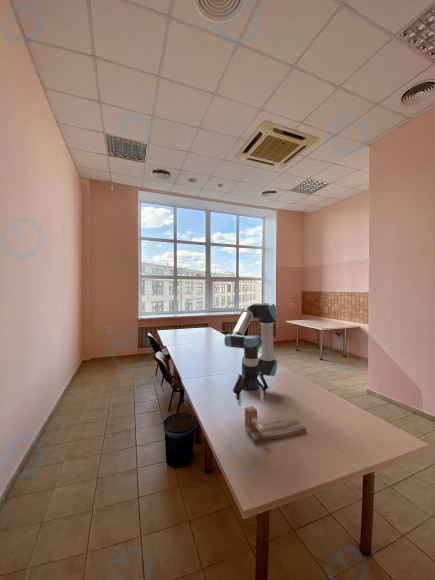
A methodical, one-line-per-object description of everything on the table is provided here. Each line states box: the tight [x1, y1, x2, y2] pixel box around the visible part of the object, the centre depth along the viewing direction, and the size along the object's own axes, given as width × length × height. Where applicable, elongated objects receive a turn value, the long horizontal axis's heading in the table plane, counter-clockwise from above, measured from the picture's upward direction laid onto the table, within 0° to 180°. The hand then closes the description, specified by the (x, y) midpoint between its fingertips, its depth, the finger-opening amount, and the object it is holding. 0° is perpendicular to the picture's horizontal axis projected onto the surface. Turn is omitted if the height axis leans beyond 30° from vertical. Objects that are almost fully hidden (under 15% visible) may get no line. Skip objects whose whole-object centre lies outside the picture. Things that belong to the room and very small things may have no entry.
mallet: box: [244, 405, 264, 436], centre depth 123 cm, size 15×5×10 cm, turn 17°
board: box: [245, 417, 307, 444], centre depth 123 cm, size 10×30×2 cm, turn 107°
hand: (250, 403), depth 127 cm, fingers open, 13 cm apart
